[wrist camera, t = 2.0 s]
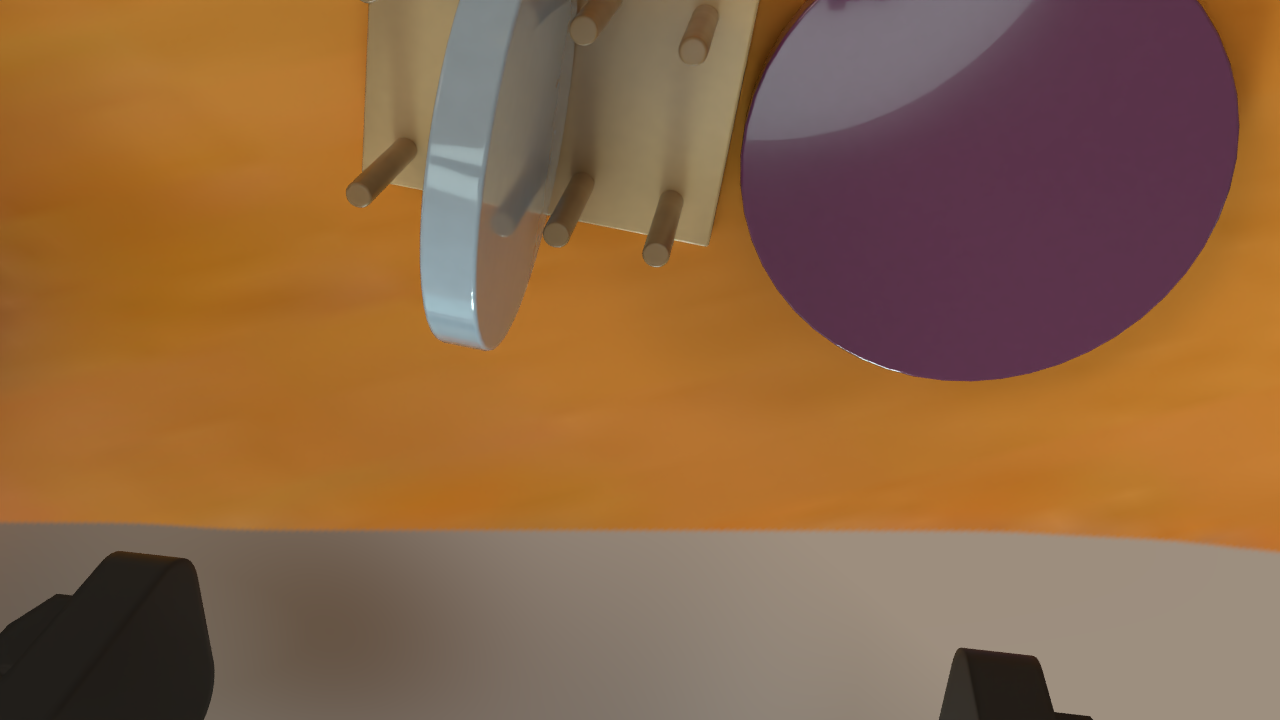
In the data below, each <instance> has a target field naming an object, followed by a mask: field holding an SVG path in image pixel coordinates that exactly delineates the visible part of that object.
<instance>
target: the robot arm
mask: <svg viewBox="0 0 1280 720" xmlns="http://www.w3.org/2000/svg"><path fill="white" fill-rule="evenodd" d="M213 685H214V661H213V656H212V651H211V646H210V640H209V635H208V630H207V625H206V619H205V614H204V608H203V603H202V598H201V593H200V588H199V582H198V577H197V573H196V570H195V567H194V565H193V564H192V562H191V561H189V560H188V559H185V558H177V557H168V556H160V555H151V554H142V553H133V552H123V551H117V552H114V553H111V554H110V555H109V556H107V557H106V558H105V559H104V560H103V561H102V562H101V563H100V564H99V566H98V567H97V568H96V569H95V570H94V571H93V573H92V574H91V575H90V576H89V577H88V578H87V579H86V581H85V582H84V583H83V584H82V585H81V586H80V587H79V589H78V590H77V591H76V592H75V593H74V594H73V596H71V595H63V594H56V595H54V596H53V597H51V598H50V599H48V600H46V601H45V602H43V603H42V604H40V605H39V606H37V607H36V608H34V609H32V610H31V611H29V612H28V613H26V614H25V615H23V616H22V617H20V618H18V619H17V620H15V621H14V622H12V623H10V624H9V625H8V626H7V627H6V628H5V629H4V630H3V631H2V632H1V633H0V720H204V718H205V715H206V713H207V710H208V707H209V704H210V701H211V696H212V692H213ZM939 720H1093V719H1092V718H1091V717H1090V716H1083V715H1074V714H1065V713H1057V712H1054V710H1053V706H1052V703H1051V699H1050V696H1049V692H1048V689H1047V685H1046V681H1045V678H1044V674H1043V671H1042V668H1041V665H1040V663H1039V661H1038V659H1037V658H1036V657H1034V656H1030V655H1021V654H1012V653H1003V652H994V651H985V650H976V649H967V648H959V649H958V650H957V651H956V653H955V656H954V658H953V662H952V666H951V670H950V675H949V679H948V683H947V687H946V691H945V696H944V700H943V704H942V708H941V713H940V717H939Z"/></svg>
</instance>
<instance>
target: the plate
mask: <svg viewBox="0 0 1280 720" xmlns="http://www.w3.org/2000/svg"><path fill="white" fill-rule="evenodd" d="M576 15H577V0H459V3H458V6H457V10H456V13H455V16H454V20H453V24H452V27H451V31H450V35H449V39H448V42H447V46H446V51H445V55H444V60H443V64H442V68H441V73H440V77H439V82H438V88H437V93H436V98H435V103H434V109H433V115H432V121H431V128H430V134H429V140H428V148H427V156H426V164H425V172H424V182H423V194H422V205H421V225H420V274H421V288H422V296H423V305H424V309H425V314H426V318H427V322H428V324H429V327H430V330H431V332H432V333H433V334H434V336H435V337H436V338H437V339H438V340H440V341H442V342H444V343H449V344H453V345H458V346H463V347H468V348H473V349H478V350H483V351H489V350H494V349H495V348H496V347H497V346H498V345H499V344H500V343H501V342H502V340H503V339H504V338H505V336H506V334H507V332H508V331H509V329H510V327H511V325H512V323H513V321H514V319H515V317H516V315H517V312H518V310H519V307H520V305H521V302H522V300H523V297H524V294H525V291H526V288H527V285H528V282H529V279H530V276H531V273H532V270H533V267H534V263H535V260H536V256H537V253H538V249H539V245H540V242H541V238H542V234H543V230H544V226H545V222H546V218H547V213H548V209H549V205H550V200H551V196H552V191H553V186H554V182H555V177H556V171H557V166H558V161H559V156H560V150H561V144H562V139H563V133H564V126H565V120H566V114H567V107H568V100H569V93H570V85H571V76H572V68H573V58H574V48H575V42H574V41H573V40H572V38H571V36H570V34H569V25H570V22H571V21H572V20H573V18H574V17H575V16H576Z"/></svg>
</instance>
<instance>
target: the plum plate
mask: <svg viewBox="0 0 1280 720" xmlns="http://www.w3.org/2000/svg"><path fill="white" fill-rule="evenodd" d="M1238 137H1239V113H1238V98H1237V91H1236V86H1235V82H1234V77H1233V73H1232V69H1231V64H1230V61H1229V59H1228V56H1227V54H1226V51H1225V49H1224V46H1223V44H1222V41H1221V39H1220V36H1219V34H1218V32H1217V30H1216V29H1215V27H1214V25H1213V23H1212V22H1211V20H1210V18H1209V17H1208V15H1207V13H1206V12H1205V10H1204V8H1203V7H1202V5H1201V4H1200V3H1199V2H1198V1H1197V0H807V1H806V2H805V3H804V4H803V5H802V6H801V8H800V9H799V10H798V11H797V13H796V14H795V15H794V17H793V18H792V19H791V20H790V22H789V23H788V24H787V26H786V27H785V28H784V29H783V31H782V33H781V34H780V36H779V38H778V40H777V41H776V43H775V45H774V46H773V48H772V50H771V51H770V53H769V55H768V56H767V58H766V61H765V63H764V65H763V68H762V70H761V72H760V75H759V77H758V79H757V82H756V84H755V87H754V90H753V94H752V97H751V101H750V104H749V108H748V111H747V115H746V121H745V128H744V135H743V142H742V149H741V170H740V186H741V193H742V201H743V208H744V215H745V218H746V222H747V226H748V229H749V233H750V236H751V240H752V242H753V245H754V247H755V249H756V252H757V254H758V256H759V259H760V261H761V263H762V266H763V267H764V269H765V271H766V272H767V274H768V276H769V277H770V279H771V281H772V282H773V284H774V286H775V287H776V289H777V290H778V291H779V293H780V294H781V295H782V296H783V298H784V299H785V300H786V301H787V303H788V304H789V305H790V306H791V307H792V309H793V310H794V311H795V312H796V313H797V314H798V315H799V316H800V317H801V318H802V319H804V320H805V321H806V322H807V323H808V324H809V325H810V326H811V327H812V328H813V329H814V330H816V331H817V332H818V333H820V334H821V335H823V336H824V337H825V338H827V339H828V340H829V341H831V342H832V343H834V344H835V345H836V346H838V347H840V348H842V349H844V350H846V351H847V352H849V353H851V354H853V355H855V356H857V357H858V358H860V359H863V360H865V361H868V362H870V363H873V364H875V365H878V366H880V367H883V368H885V369H888V370H892V371H896V372H900V373H904V374H907V375H911V376H915V377H923V378H930V379H937V380H947V381H981V380H993V379H1003V378H1008V377H1013V376H1018V375H1024V374H1029V373H1033V372H1036V371H1039V370H1043V369H1046V368H1049V367H1052V366H1056V365H1059V364H1062V363H1064V362H1066V361H1069V360H1071V359H1073V358H1076V357H1078V356H1080V355H1083V354H1085V353H1087V352H1089V351H1091V350H1093V349H1095V348H1096V347H1098V346H1100V345H1102V344H1104V343H1105V342H1107V341H1109V340H1111V339H1112V338H1114V337H1116V336H1117V335H1119V334H1120V333H1121V332H1123V331H1124V330H1126V329H1127V328H1128V327H1130V326H1131V325H1133V324H1134V323H1135V322H1137V321H1138V320H1140V319H1141V318H1142V317H1143V316H1144V315H1146V314H1147V313H1148V312H1149V311H1150V310H1151V309H1152V308H1153V307H1154V306H1155V305H1157V304H1158V303H1159V302H1160V301H1161V300H1162V299H1163V298H1164V297H1165V296H1166V295H1167V294H1168V293H1169V292H1170V291H1171V290H1172V288H1173V287H1174V286H1175V285H1176V284H1177V283H1178V282H1179V280H1180V279H1181V278H1182V277H1183V276H1184V275H1185V274H1186V272H1187V271H1188V269H1189V268H1190V267H1191V265H1192V264H1193V262H1194V261H1195V259H1196V258H1197V256H1198V255H1199V254H1200V252H1201V251H1202V249H1203V248H1204V246H1205V244H1206V242H1207V240H1208V238H1209V237H1210V235H1211V233H1212V231H1213V229H1214V227H1215V225H1216V223H1217V221H1218V219H1219V217H1220V214H1221V211H1222V209H1223V206H1224V203H1225V201H1226V198H1227V195H1228V192H1229V190H1230V186H1231V182H1232V177H1233V173H1234V168H1235V164H1236V159H1237V150H1238Z"/></svg>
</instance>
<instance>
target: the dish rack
mask: <svg viewBox="0 0 1280 720" xmlns="http://www.w3.org/2000/svg"><path fill="white" fill-rule="evenodd" d="M361 1H362V2H364V3H369V12H368V37H367V62H366V87H365V112H364V137H363V162H362V173H361V174H360V175H359V176H358V177H357V178H356V179H355V180H354V181H353V182H351V183H350V184H349V185H348V187H347V189H346V196H347V199H348V201H349V202H350V203H351V204H352V205H354V206H356V207H361V208H362V207H366V206H368V205H369V204H370V203H371V202H372V201H373V200H374V199H375V198H376V197H377V196H378V195H379V194H380V193H381V192H382V191H383V190H384V189H385V188H386V187H387V186H388V185H389V184H394V185H399V186H404V187H409V188H414V189H419V190H423V182H424V172H425V164H426V156H427V148H428V140H429V134H430V128H431V121H432V115H433V109H434V103H435V98H436V93H437V88H438V82H439V77H440V73H441V68H442V64H443V60H444V55H445V51H446V46H447V42H448V39H449V35H450V31H451V27H452V24H453V20H454V16H455V13H456V10H457V6H458V3H459V0H361ZM759 1H760V0H577V15H576V16H575V17H574V18H573V20H572V21H571V22H570V25H569V34H570V36H571V38H572V40H573V41H574V42H575V48H574V58H573V68H572V76H571V85H570V93H569V100H568V107H567V114H566V120H565V126H564V133H563V139H562V144H561V150H560V156H559V161H558V166H557V171H556V177H555V182H554V186H553V191H552V196H551V200H550V205H549V209H548V213H547V215H550V216H551V217H550V218H549V220H548V222H547V224H546V226H545V228H544V230H543V237H544V240H545V241H546V242H547V243H548V244H549V245H550V246H553V247H562V246H564V245H566V244H567V243H568V241H569V239H570V237H571V235H572V233H573V231H574V229H575V227H576V224H577V222H578V221H580V222H585V223H590V224H595V225H600V226H605V227H610V228H615V229H620V230H625V231H630V232H635V233H640V234H645V235H648V236H647V239H646V242H645V245H644V249H643V253H642V254H643V259H644V260H645V262H646V263H647V264H648V265H650V266H653V267H661V266H663V265H665V264H666V263H667V262H668V260H669V257H670V253H671V250H672V246H673V242H674V240H675V241H680V242H685V243H690V244H695V245H700V246H705V247H706V246H708V245H709V242H710V237H711V232H712V227H713V223H714V218H715V213H716V208H717V203H718V199H719V194H720V189H721V184H722V179H723V174H724V170H725V165H726V160H727V155H728V150H729V145H730V141H731V136H732V131H733V126H734V121H735V116H736V112H737V107H738V102H739V97H740V92H741V87H742V83H743V78H744V73H745V68H746V63H747V58H748V54H749V49H750V44H751V39H752V34H753V29H754V25H755V20H756V15H757V10H758V5H759Z"/></svg>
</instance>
